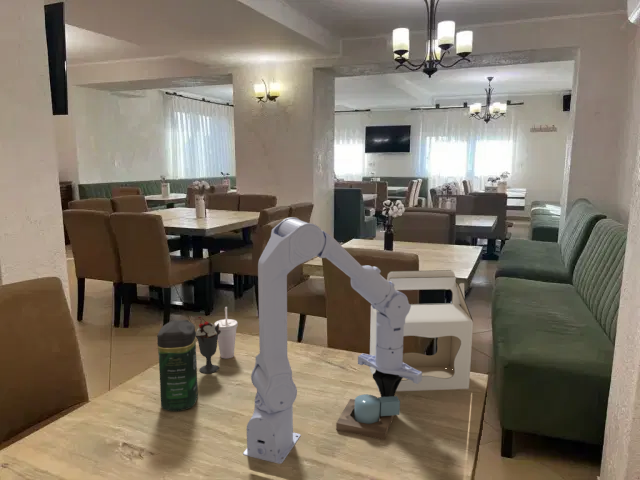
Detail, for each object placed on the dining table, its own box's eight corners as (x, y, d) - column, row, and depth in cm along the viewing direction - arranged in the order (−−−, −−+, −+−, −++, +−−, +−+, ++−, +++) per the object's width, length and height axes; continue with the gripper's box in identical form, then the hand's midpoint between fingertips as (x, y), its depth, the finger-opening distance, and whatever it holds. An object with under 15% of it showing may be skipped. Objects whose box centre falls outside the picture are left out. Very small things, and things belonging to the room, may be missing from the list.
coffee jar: (195, 411, 101) (191, 331, 98) (158, 414, 100) (152, 333, 97) (200, 389, 111) (197, 316, 107) (166, 392, 110) (161, 317, 106)
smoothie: (241, 351, 132) (239, 304, 130) (235, 361, 126) (233, 312, 124) (219, 350, 133) (217, 303, 130) (212, 360, 127) (210, 311, 124)
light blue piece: (357, 431, 93) (357, 408, 92) (351, 416, 98) (352, 395, 97) (401, 427, 94) (402, 405, 93) (393, 413, 99) (394, 392, 99)
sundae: (190, 373, 119) (187, 317, 116) (204, 362, 125) (202, 309, 123) (213, 376, 117) (211, 320, 114) (226, 365, 123) (224, 311, 121)
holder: (384, 442, 90) (385, 432, 90) (336, 431, 94) (336, 422, 93) (394, 415, 100) (394, 407, 99) (350, 407, 103) (350, 398, 103)
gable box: (378, 394, 109) (380, 279, 104) (368, 368, 122) (370, 265, 117) (470, 390, 110) (477, 277, 105) (450, 365, 123) (456, 263, 118)
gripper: (429, 346, 96) (427, 407, 98) (370, 330, 105) (369, 386, 107) (413, 358, 90) (411, 421, 93) (352, 340, 99) (351, 398, 102)
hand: (387, 403), depth 100 cm, fingers closed
